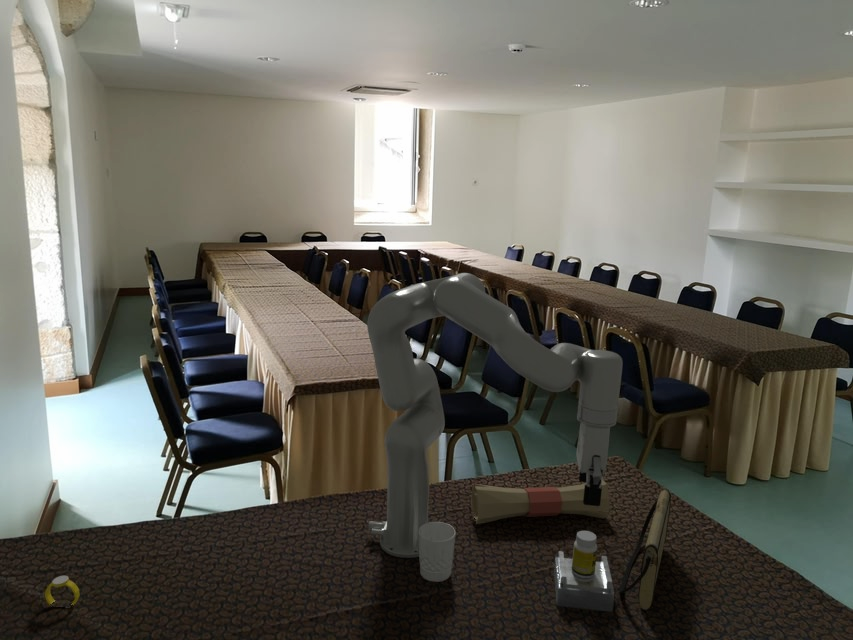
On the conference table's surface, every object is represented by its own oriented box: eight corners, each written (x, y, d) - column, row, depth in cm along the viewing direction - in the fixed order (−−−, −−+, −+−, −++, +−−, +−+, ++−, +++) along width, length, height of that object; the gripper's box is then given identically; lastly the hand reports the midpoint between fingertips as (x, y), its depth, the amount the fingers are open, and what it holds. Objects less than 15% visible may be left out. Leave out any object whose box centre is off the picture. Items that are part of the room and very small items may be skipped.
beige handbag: (635, 537, 157) (641, 480, 154) (665, 545, 154) (673, 487, 151) (613, 609, 131) (621, 542, 128) (650, 619, 128) (658, 551, 125)
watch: (45, 612, 125) (39, 584, 124) (53, 602, 128) (47, 576, 127) (76, 610, 125) (71, 583, 124) (83, 601, 128) (78, 574, 127)
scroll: (613, 521, 161) (610, 480, 162) (479, 528, 156) (478, 485, 158) (596, 516, 171) (593, 477, 173) (470, 522, 166) (469, 481, 168)
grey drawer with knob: (556, 605, 131) (558, 578, 130) (553, 565, 145) (555, 540, 143) (612, 612, 130) (615, 585, 129) (603, 570, 143) (606, 545, 142)
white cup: (422, 586, 136) (424, 543, 134) (413, 564, 143) (414, 523, 141) (458, 581, 138) (460, 538, 136) (447, 560, 146) (449, 519, 143)
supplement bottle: (595, 580, 132) (599, 543, 131) (571, 577, 133) (575, 540, 131) (594, 567, 137) (597, 531, 135) (571, 563, 138) (574, 527, 136)
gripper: (574, 397, 136) (567, 472, 140) (581, 428, 120) (573, 512, 124) (611, 400, 135) (602, 475, 139) (623, 432, 119) (613, 516, 123)
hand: (589, 492), depth 131 cm, fingers open, 9 cm apart
